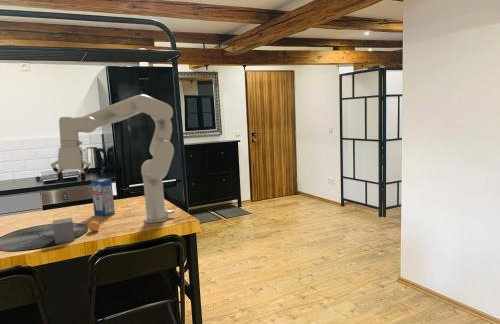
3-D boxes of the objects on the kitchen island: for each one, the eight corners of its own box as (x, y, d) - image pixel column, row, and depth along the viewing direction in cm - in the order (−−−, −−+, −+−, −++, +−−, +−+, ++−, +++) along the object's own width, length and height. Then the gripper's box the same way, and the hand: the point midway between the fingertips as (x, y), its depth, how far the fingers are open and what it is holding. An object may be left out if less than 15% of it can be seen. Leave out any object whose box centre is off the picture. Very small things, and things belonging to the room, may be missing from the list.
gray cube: (73, 235, 170) (71, 217, 169) (74, 240, 163) (72, 221, 162) (55, 239, 166) (53, 220, 165) (55, 244, 160) (52, 224, 158)
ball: (99, 229, 178) (98, 219, 178) (100, 231, 174) (99, 221, 173) (88, 231, 176) (87, 221, 175) (89, 233, 172) (88, 223, 171)
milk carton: (115, 214, 206) (111, 179, 203) (105, 217, 201) (101, 181, 198) (104, 212, 211) (100, 178, 209) (94, 215, 206) (90, 180, 204)
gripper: (92, 143, 169) (94, 180, 170) (53, 144, 167) (56, 181, 169) (86, 144, 161) (88, 182, 163) (45, 145, 160) (48, 183, 161)
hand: (72, 181), depth 166 cm, fingers open, 9 cm apart
